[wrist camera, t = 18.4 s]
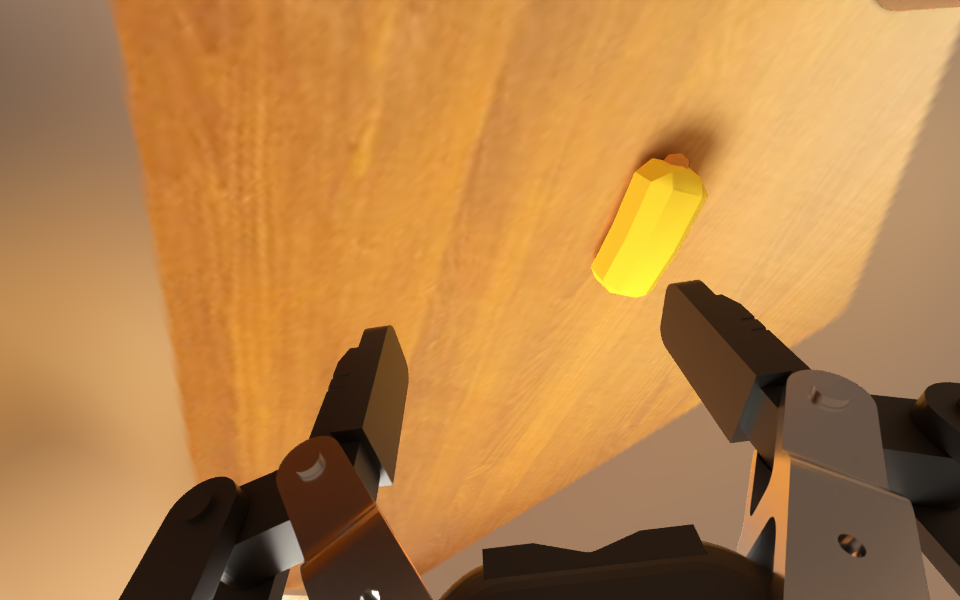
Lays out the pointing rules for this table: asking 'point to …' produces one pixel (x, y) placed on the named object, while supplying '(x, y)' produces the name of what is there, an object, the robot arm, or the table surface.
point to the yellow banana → (649, 226)
